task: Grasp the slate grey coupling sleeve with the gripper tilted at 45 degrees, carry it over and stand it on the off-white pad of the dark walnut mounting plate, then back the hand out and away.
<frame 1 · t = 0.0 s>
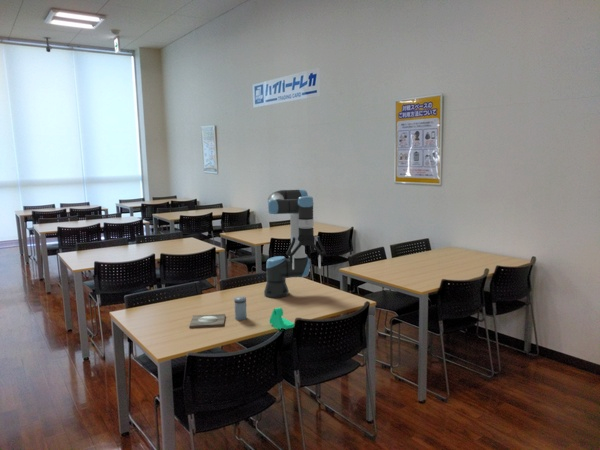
hand: (306, 268, 233), 28 cm above the table, tool pointing down, fingers open, 13 cm apart
mounting plate: (207, 321, 238), on the table
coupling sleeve: (240, 318, 243), on the table
green toy figure: (282, 327, 230), on the table
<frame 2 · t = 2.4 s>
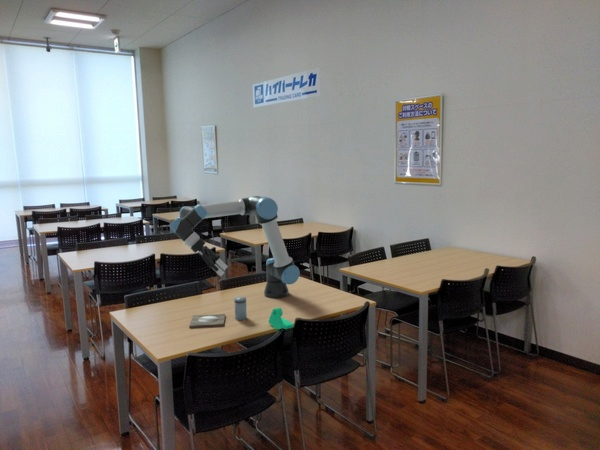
hand: (224, 271, 238), 26 cm above the table, tool tilted 45°, fingers open, 13 cm apart
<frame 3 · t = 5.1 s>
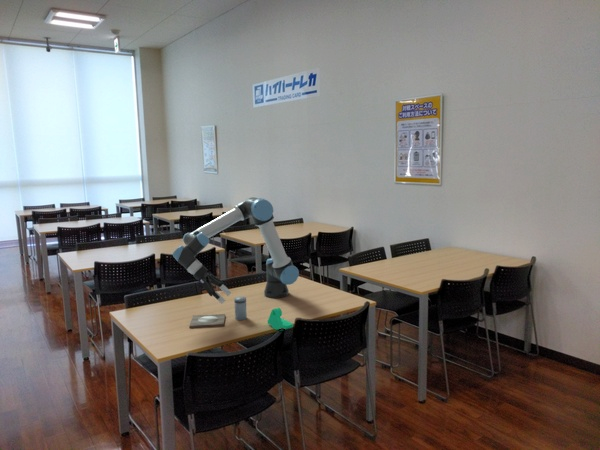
hand: (226, 298, 241), 11 cm above the table, tool tilted 45°, fingers open, 13 cm apart
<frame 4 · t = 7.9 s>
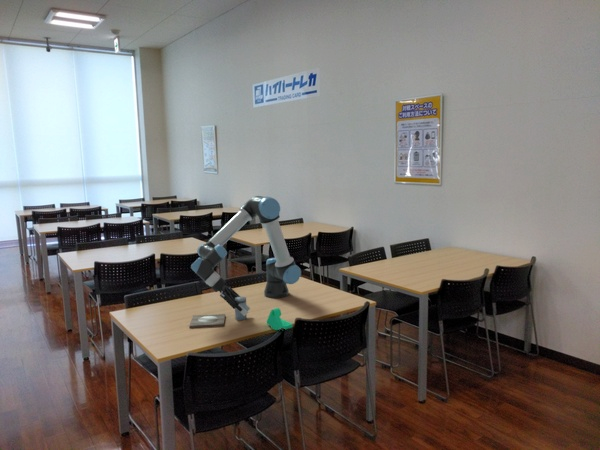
hand: (247, 312, 242), 3 cm above the table, tool tilted 45°, fingers closed on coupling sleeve, 6 cm apart
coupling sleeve: (240, 318, 243), on the table, touching gripper
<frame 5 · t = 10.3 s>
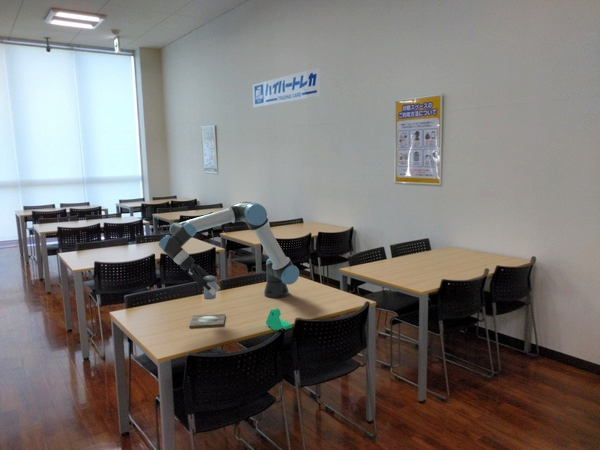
hand: (216, 291, 236), 16 cm above the table, tool tilted 45°, fingers closed on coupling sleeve, 6 cm apart
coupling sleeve: (209, 297, 237), point 13 cm above the table, touching gripper
when the fingers open (6 cm above the table, at t = 13.0 s): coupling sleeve drops 1 cm, resting on mounting plate.
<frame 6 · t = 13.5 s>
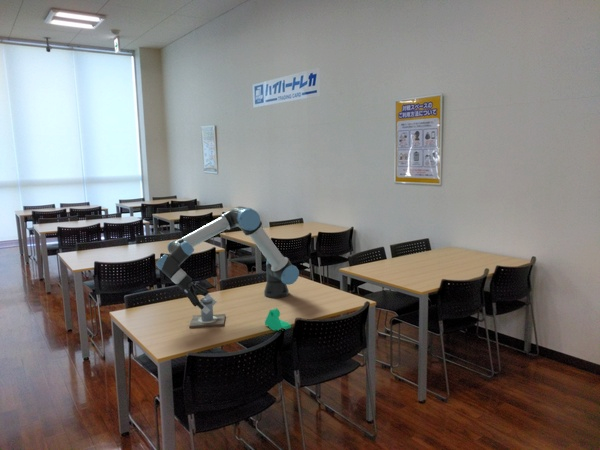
hand: (211, 308, 237), 8 cm above the table, tool tilted 45°, fingers open, 13 cm apart
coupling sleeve: (207, 319, 238), point 1 cm above the table, touching mounting plate
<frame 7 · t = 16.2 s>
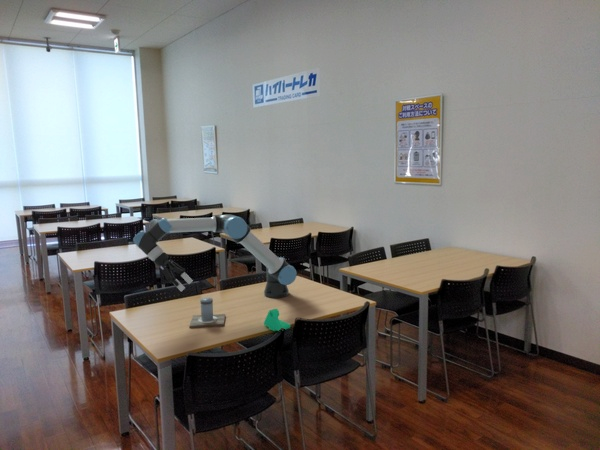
hand: (187, 286, 237), 19 cm above the table, tool tilted 40°, fingers open, 13 cm apart
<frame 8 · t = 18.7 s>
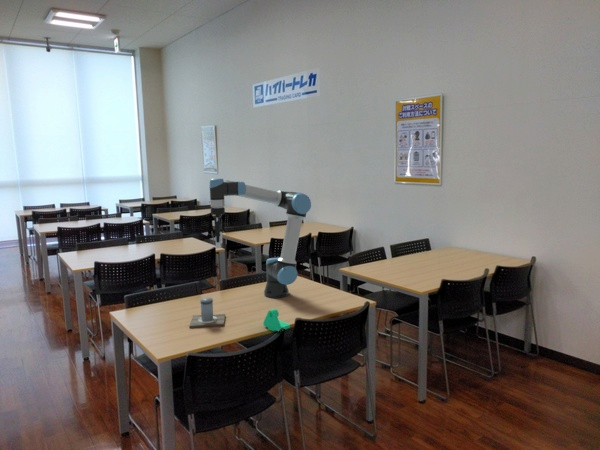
hand: (219, 245, 251), 37 cm above the table, tool pointing down, fingers open, 13 cm apart
at the end: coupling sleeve inside the target area on the mounting plate (0.5 cm from its centre), point 1.4 cm above the mounting plate's base; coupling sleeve tilted 0°; the gripper is holding nothing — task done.
